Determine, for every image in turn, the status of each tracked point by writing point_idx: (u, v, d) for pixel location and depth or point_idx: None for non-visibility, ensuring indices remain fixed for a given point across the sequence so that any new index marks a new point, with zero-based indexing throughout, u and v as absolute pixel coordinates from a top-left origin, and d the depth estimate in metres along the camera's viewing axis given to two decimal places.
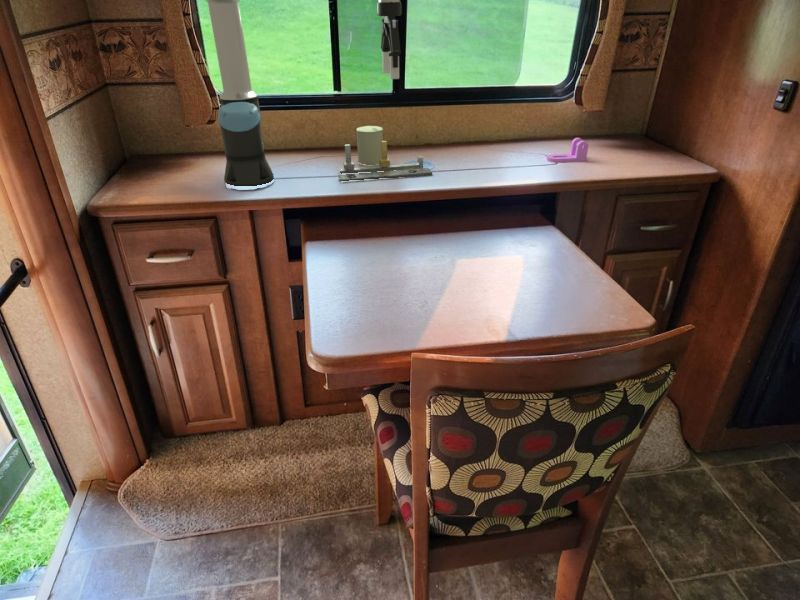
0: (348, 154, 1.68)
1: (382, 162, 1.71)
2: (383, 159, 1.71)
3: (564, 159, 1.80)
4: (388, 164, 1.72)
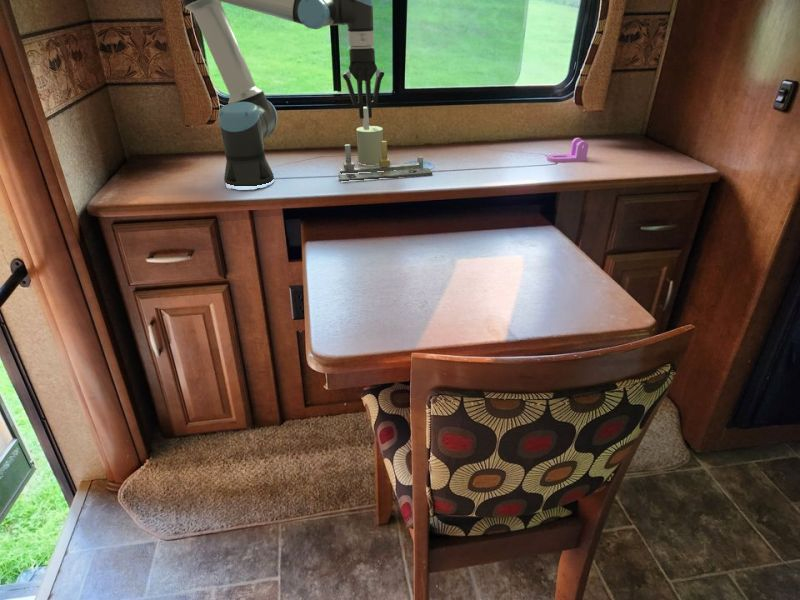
0: (348, 154, 1.68)
1: (382, 162, 1.71)
2: (383, 159, 1.71)
3: (564, 159, 1.80)
4: (388, 164, 1.72)
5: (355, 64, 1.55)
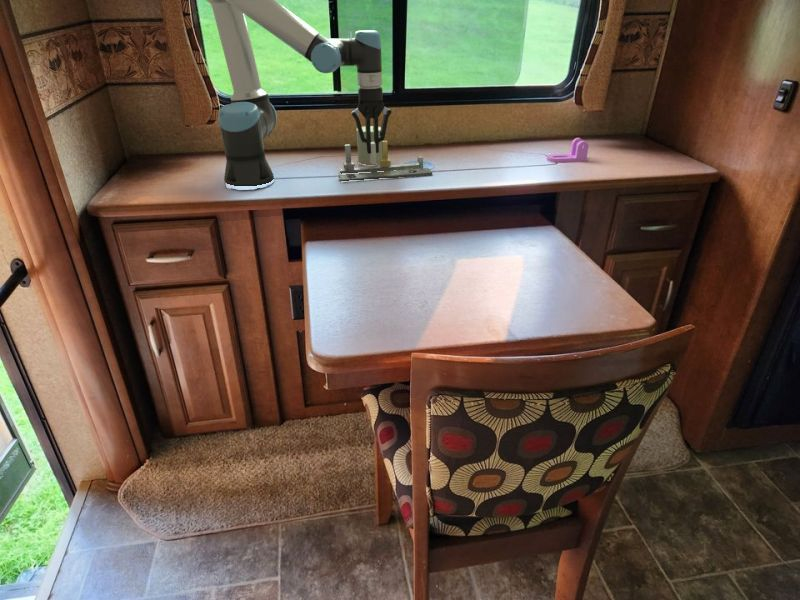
0: (348, 154, 1.68)
1: (383, 162, 1.71)
2: (384, 159, 1.71)
3: (564, 159, 1.80)
4: (389, 164, 1.72)
5: (363, 103, 1.61)
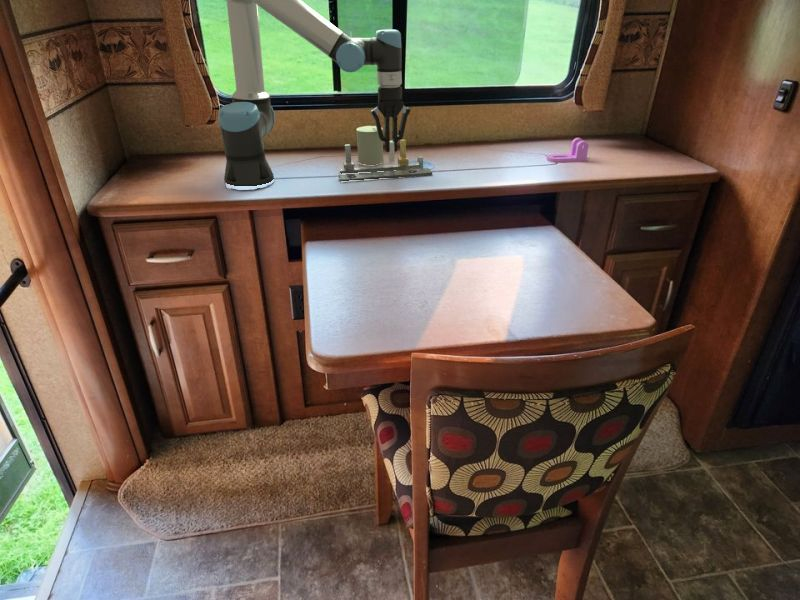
0: (348, 154, 1.68)
1: (401, 161, 1.72)
2: (402, 158, 1.73)
3: (564, 159, 1.80)
4: (407, 163, 1.73)
5: (383, 102, 1.62)
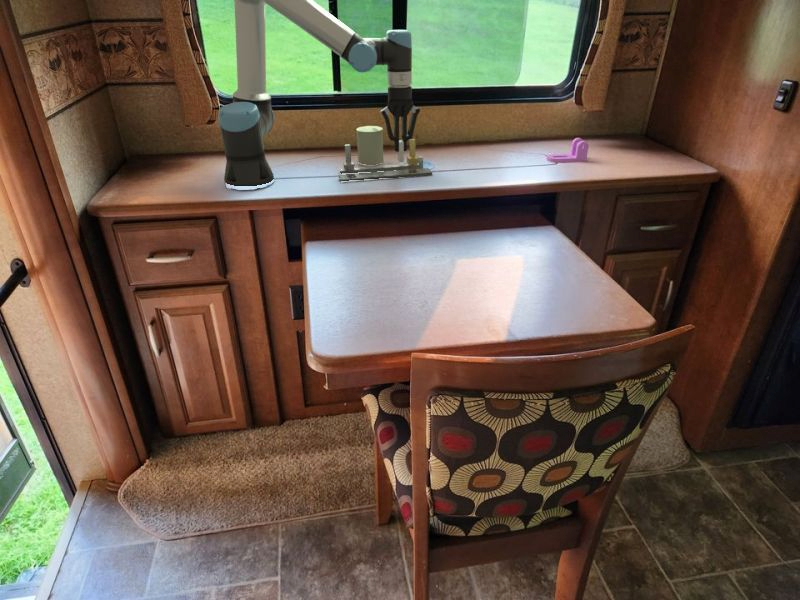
0: (348, 154, 1.68)
1: (410, 160, 1.73)
2: (411, 157, 1.73)
3: (564, 159, 1.80)
4: (416, 162, 1.74)
5: (393, 101, 1.63)
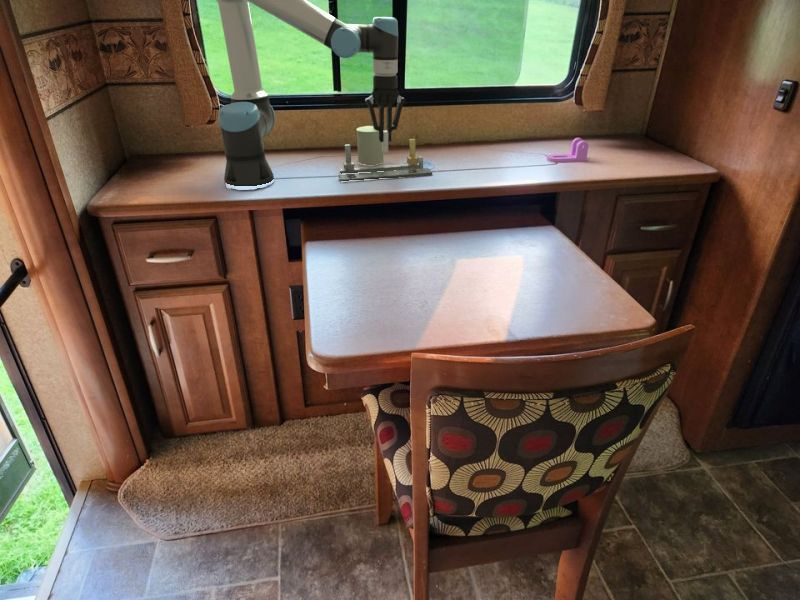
0: (348, 154, 1.68)
1: (410, 160, 1.73)
2: (411, 157, 1.73)
3: (564, 159, 1.80)
4: (416, 162, 1.74)
5: (378, 90, 1.60)
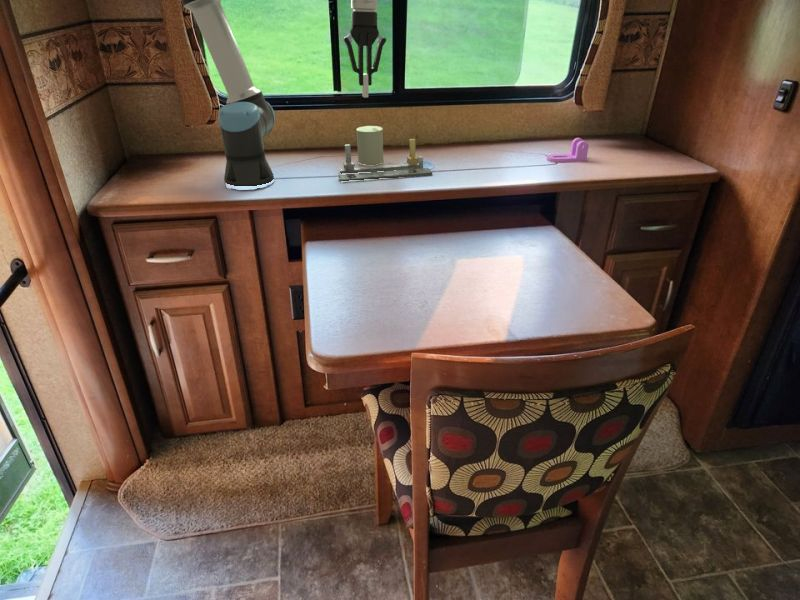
0: (348, 154, 1.68)
1: (410, 160, 1.73)
2: (411, 157, 1.73)
3: (564, 159, 1.80)
4: (416, 162, 1.74)
5: (357, 28, 1.51)
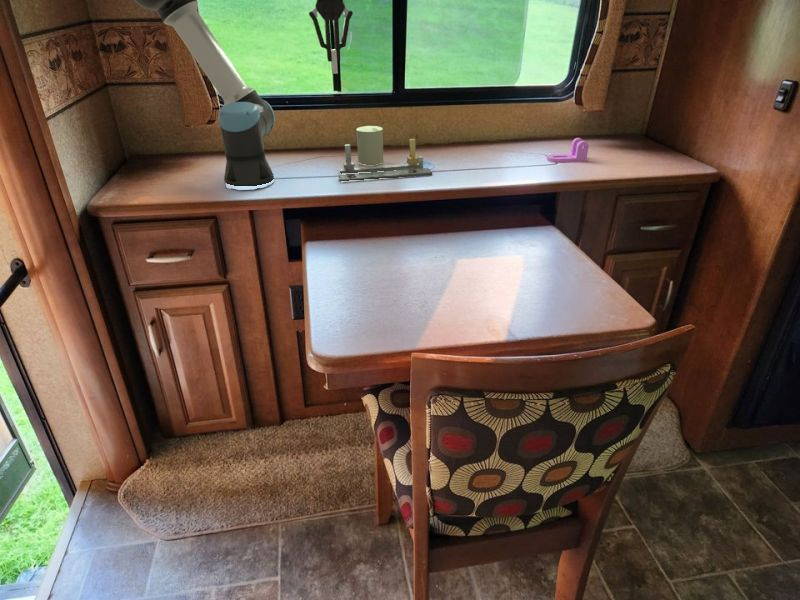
0: (348, 154, 1.68)
1: (410, 160, 1.73)
2: (411, 157, 1.73)
3: (564, 159, 1.80)
4: (416, 162, 1.74)
5: (322, 1, 1.48)
